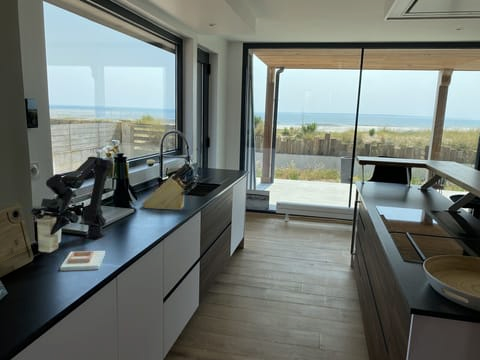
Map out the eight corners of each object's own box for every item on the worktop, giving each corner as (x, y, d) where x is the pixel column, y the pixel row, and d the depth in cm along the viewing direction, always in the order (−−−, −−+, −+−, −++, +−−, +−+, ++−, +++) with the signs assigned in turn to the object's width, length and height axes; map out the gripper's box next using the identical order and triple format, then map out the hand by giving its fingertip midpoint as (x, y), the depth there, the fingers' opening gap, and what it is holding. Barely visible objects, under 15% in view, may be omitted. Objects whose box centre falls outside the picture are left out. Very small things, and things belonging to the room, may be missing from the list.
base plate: (70, 254, 157) (70, 248, 157) (105, 253, 160) (104, 247, 160) (60, 270, 142) (60, 263, 141) (98, 269, 145) (98, 262, 144)
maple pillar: (47, 246, 151) (45, 214, 148) (58, 248, 150) (56, 215, 147) (38, 251, 146) (36, 217, 143) (49, 252, 145) (48, 218, 142)
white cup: (46, 240, 173) (46, 226, 172) (62, 239, 176) (62, 225, 174) (44, 245, 167) (43, 230, 166) (61, 244, 169) (60, 229, 168)
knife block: (195, 211, 235) (196, 164, 230) (141, 208, 236) (141, 161, 230) (197, 207, 246) (199, 161, 241) (146, 204, 247) (146, 159, 241)
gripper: (32, 188, 149) (12, 221, 140) (73, 192, 146) (56, 226, 137) (46, 202, 158) (29, 234, 149) (85, 206, 155) (70, 239, 146)
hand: (45, 233), depth 145 cm, fingers closed on maple pillar, 5 cm apart
